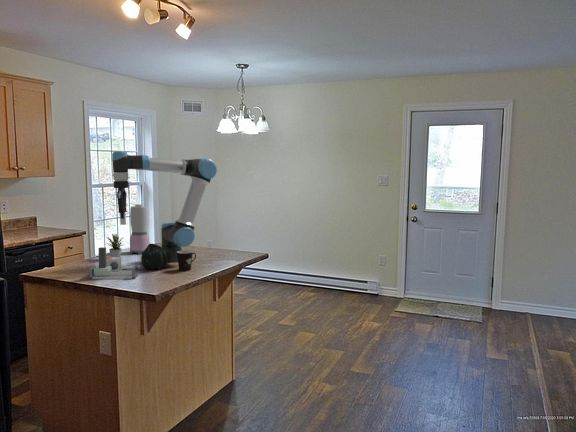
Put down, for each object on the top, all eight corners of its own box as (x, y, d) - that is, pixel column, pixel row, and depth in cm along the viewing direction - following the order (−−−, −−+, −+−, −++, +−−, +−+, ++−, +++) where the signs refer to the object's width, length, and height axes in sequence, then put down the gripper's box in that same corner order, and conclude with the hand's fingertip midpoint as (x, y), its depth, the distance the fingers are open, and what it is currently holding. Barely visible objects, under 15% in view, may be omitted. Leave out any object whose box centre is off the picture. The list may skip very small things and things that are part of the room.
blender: (142, 254, 285) (142, 205, 282) (125, 253, 288) (125, 204, 285) (155, 250, 300) (155, 204, 297) (139, 249, 303) (138, 203, 300)
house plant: (98, 258, 271) (97, 231, 270) (120, 255, 280) (120, 230, 279) (106, 261, 261) (106, 234, 259) (129, 259, 270) (129, 232, 268)
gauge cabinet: (121, 271, 236) (121, 256, 235) (118, 274, 230) (118, 259, 229) (103, 271, 235) (103, 257, 234) (100, 274, 228) (99, 259, 228)
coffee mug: (179, 272, 238) (179, 253, 237) (175, 268, 246) (175, 251, 245) (200, 270, 244) (200, 252, 243) (195, 267, 251) (195, 249, 250)
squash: (177, 257, 251) (161, 237, 251) (165, 263, 236) (147, 242, 237) (160, 272, 254) (144, 252, 255) (147, 279, 240) (130, 258, 240)
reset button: (112, 263, 234) (112, 256, 234) (110, 265, 230) (110, 258, 230) (104, 263, 233) (104, 256, 233) (102, 265, 229) (102, 258, 229)
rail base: (137, 275, 228) (137, 266, 228) (135, 278, 221) (135, 268, 221) (93, 276, 225) (93, 266, 224) (88, 279, 218) (88, 269, 218)
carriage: (111, 272, 226) (111, 246, 224) (108, 275, 220) (108, 248, 218) (97, 272, 225) (96, 246, 223) (93, 275, 219) (93, 248, 217)
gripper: (116, 180, 241) (118, 223, 243) (110, 181, 228) (113, 226, 230) (130, 180, 242) (132, 222, 244) (125, 180, 229) (128, 226, 232)
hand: (123, 224), depth 237 cm, fingers closed
